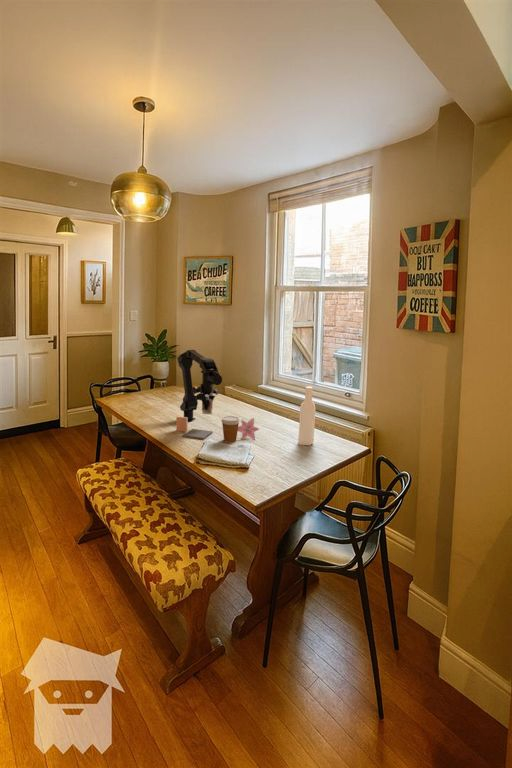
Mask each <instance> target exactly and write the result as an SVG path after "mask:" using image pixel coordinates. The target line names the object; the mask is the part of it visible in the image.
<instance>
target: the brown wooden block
mask: <svg viewBox="0 0 512 768" xmlns="http://www.w3.org/2000/svg"><path fill="white" fill-rule="evenodd" d="M213 403H214V400H210V403H209V406H208V409H207V410H205V408H204V405H203V402H202V401H201V410H202V414H203V415H210V416H211V415H213Z"/></svg>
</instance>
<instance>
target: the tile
mask: <svg viewBox="0 0 512 768" xmlns="http://www.w3.org/2000/svg"><path fill="white" fill-rule="evenodd" d="M175 420H176V421H175V422H176V426H175V427H176V428H175V429H176V431H177V432H182V431H183V433H187V432H188V430H189V429H188V426H189V425H188V423H189V421H188V417H184V416H181V415H180V416H179V415H178V416H176V419H175Z"/></svg>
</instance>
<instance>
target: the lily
mask: <svg viewBox="0 0 512 768" xmlns="http://www.w3.org/2000/svg"><path fill="white" fill-rule="evenodd" d="M240 422H241V425H238V432H239V433H241V440H244V439H246V438H247V437H249V438H250V439H251V440H254V441H255V440H256V435H255V432H259V430H260V428H258V427H257V426H255V417H253V418H251V419H249V420H248V421H245V420H244V419H241V420H240Z"/></svg>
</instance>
